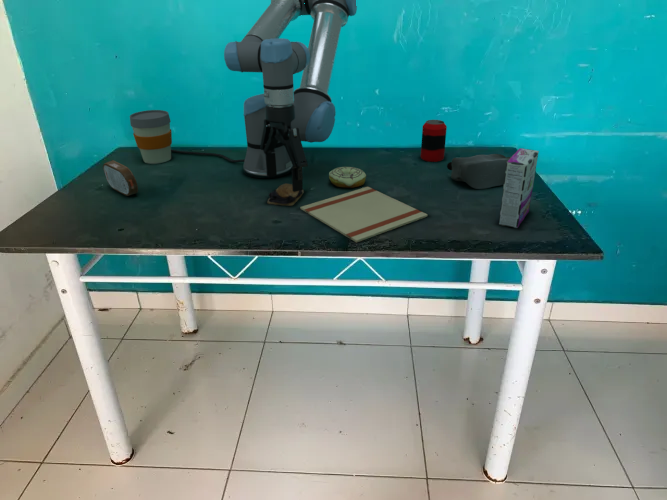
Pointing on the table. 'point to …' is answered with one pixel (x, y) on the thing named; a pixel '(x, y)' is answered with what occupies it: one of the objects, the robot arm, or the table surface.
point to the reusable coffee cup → (152, 135)
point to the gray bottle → (479, 170)
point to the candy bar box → (518, 187)
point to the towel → (363, 213)
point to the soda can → (433, 140)
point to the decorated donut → (347, 177)
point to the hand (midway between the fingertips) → (284, 183)
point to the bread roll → (284, 195)
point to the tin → (120, 178)
